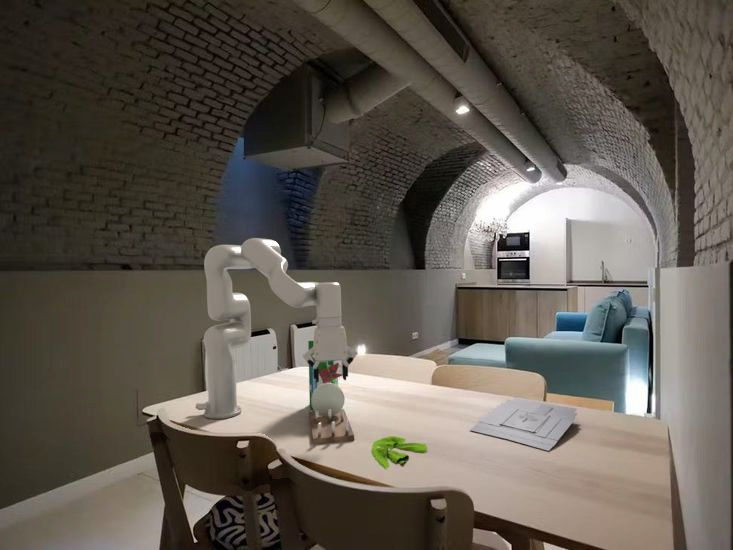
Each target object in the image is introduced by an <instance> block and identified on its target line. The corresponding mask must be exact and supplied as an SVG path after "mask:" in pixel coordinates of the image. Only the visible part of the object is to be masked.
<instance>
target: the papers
mask: <svg viewBox="0 0 733 550" xmlns="http://www.w3.org/2000/svg"><path fill="white" fill-rule="evenodd" d="M577 410H578V408H574V407H570V406H563V405H558V404H553V403H548V402H543V401H538V400H537V401H536V400H533V399H527V398H522V397H516V396H515V397H514V398H512V399H507V400H505V401H504V402H502V403H500V404H499V405H497V406H496V407H494V408H493V409H491V411H489V412H488V413H487V414H486V415H484V416H483V417H482V418H481V419H479V420H478V422H476V423H475V424H474V426H472V427H471V429H469V431H473V432H476V433H480V434H484V435H488V436H493V437H497V438H501V439H506V440H509V441H513V442H517V443H519V444H524V445H527V446H530V447H534V448H537V449H541V450H544V451H550V450H551V449H552V448H553V447H554V446H555V445H556V444H557V443H558V442H559V440H560V439H561V438H562V436H563V435H564V434H565V432H566V431H567V430H568V429H569V428H570V426H571V425H572V423H574V422H575V420H576V419H577V417H576V416H577V415H578V412H576V411H577Z"/></svg>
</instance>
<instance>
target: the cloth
mask: <svg viewBox="0 0 733 550" xmlns="http://www.w3.org/2000/svg"><path fill="white" fill-rule="evenodd" d="M406 440H407V439H406V438H404V437H400V436H395V435H388V436H387V437H386V436H385V437H383V438H380V439H377V440H375V441H374V442H373V443H372V445H371V455H372V457H373V458H374V459H375V460H376V462H377V463H378V464H379V465H380V466H381V467H382V468H383V469H385V470H387V469H388V468H389V467H390V464H389V461H390V462H391V463H393V464H395V465H396V464H397V463H398V464H399V465H401V466H402V467H405V465H404V463H407V462H408V461H409V460H410V456H409V455H408V454H406V453H403V452H398V451H397V450H400V451H405V452H406V451H407V452H412V453H416V454H417V453H419V454H427V453H428V450H427V443H419V442H406ZM393 449H397V450H393ZM388 460H389V461H388Z"/></svg>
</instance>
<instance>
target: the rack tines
mask: <svg viewBox="0 0 733 550" xmlns="http://www.w3.org/2000/svg"><path fill="white" fill-rule="evenodd" d="M313 411H314V410H313ZM344 411H345V409H344V408H341V422H344ZM314 412H316V424H318V437H322V435H321V423H319V410H316V411H314ZM348 421H349V419H348V420H346V421H345V435H349V425H348ZM328 423H331V409H328ZM332 436H335V422H334V421H333V422H332Z"/></svg>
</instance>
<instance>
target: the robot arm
mask: <svg viewBox="0 0 733 550" xmlns="http://www.w3.org/2000/svg"><path fill="white" fill-rule="evenodd" d="M281 253H282V249H281V247H280V245H279V244H278V242H277V241H275V240H273V239H268V238H259V237H251V238H248V239H246V240H244V242H243V243H242V244H241V245H237V244H219V245H218V244H217V245H215V246H213V247H211V248H210V249H209V250H207V252H206V254H205V257H204V260H203V261H204V263H203V265H204V266H203V267H204V272H205V273H204V274H205V277H206V297H207V298H206V299H207V304H206V305H207V314H208V316H209V318H210V319H211V320H213V321H220V322H221V321H228V320H229V323H227V322H226V323H221V324H216V325H213V326H210V327H209V328H208V329H207V330H206V331H205V332H204V335H203V343H204V349H205V352H206V353H205V354H206V360H207V364H206V365H207V387H208V388H207V390H208V391H207V394H208V395H207V396H208V397H207V398H208V399H207V400H208V401H205V402H203V403H202V402H198V403H196V404H195V410H198V411H203V410H204V412H203V417H205V418H207V419H211V420H221V419H223V420H224V419H228V418H232V417H236V416H238V415H239V414H241V413H242V407H241V406H239V405H238V400H237V398H238V396H237V365H236V358H235V356H234V355H233V353H232V350H236V349H240V348H242V347H245V346H246V345H248V344H249V342H250V340H251V337H252V316H251V314H252V313H251V311H252V309H251V308H252V307H251V304H250V300H249V298H248V297H247V296H246V295H245V294H244V293H241V292H233V281H232V278H231V276H230V274H229V272H228V270H249V269H256V270H257V271H259V272H260V273H261V274H262V275H264V277H266V278H267V279H268V285H269V287H270V289H271V291H272V292H273V293H274V294H275V296H277V298H279V299H280V300H282V302H284V303H285V304H286V305H289V306H290V307H293V308H303V307H310V306H316V318H314V319H312V320H311V321H312V323H311V324H312V325H316V327H315V328H314V331H313V332H314V333H313V341H314V344H313V348H311V349H310V350H309V349H308V350H307V352H305V353H303V355H302V358H303V359H304V360H305V362H307V364H308V366H309V365H310V366H311V367H313V369H314V379H316V382H319V369H318V365H319V363H320V361H337V360H338V361H341V362H342V363H343V365H342V366H341V367H342V369H343V376H342V379H343V380H344V381H347V378H348V377H349V366H350V365H351V363H352V362H353V361H354V359H355V358H356V356H357V355H358V352H357V351H356V350H355V349H354V348H351V347H350V346H348V341H347V333H346V328H345V326H343V325H342V324H343V323H342V322H343V321H342V320H343V319H342V291H341V290H342V288H341V284H340V283H339V282H336V281H335V282H332V281H331V282H330V281H329V282H328V281H327V282H326V281H325V282H317V281H303V282H299V281H295V280H294V279H292V277H291V276H289V275H288V274H287V273H286V272H287V270H288V267H289V263H288V260H287V259H286V258H285V257H283V256H282V254H281ZM312 353H314V359H315V361H314V362H313V361H312V360H311V359H310V358H309V356H310V355H311V354H312ZM348 353H350V356H349V357H348Z"/></svg>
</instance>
